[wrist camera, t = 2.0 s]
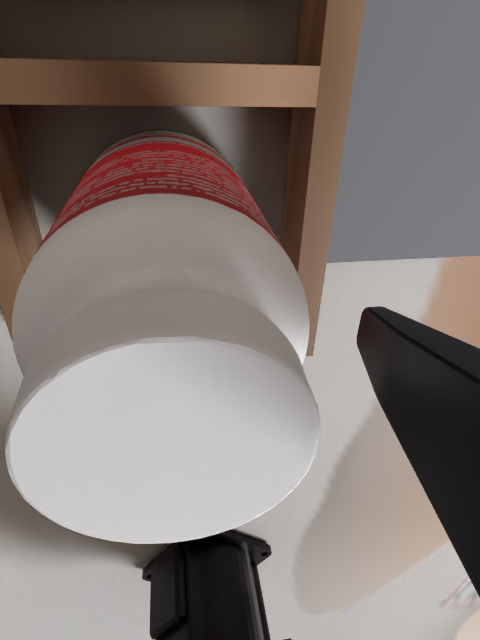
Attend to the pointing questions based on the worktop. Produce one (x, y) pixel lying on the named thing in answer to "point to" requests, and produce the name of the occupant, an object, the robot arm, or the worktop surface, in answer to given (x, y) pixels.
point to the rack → (204, 90)
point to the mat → (412, 135)
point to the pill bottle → (160, 353)
